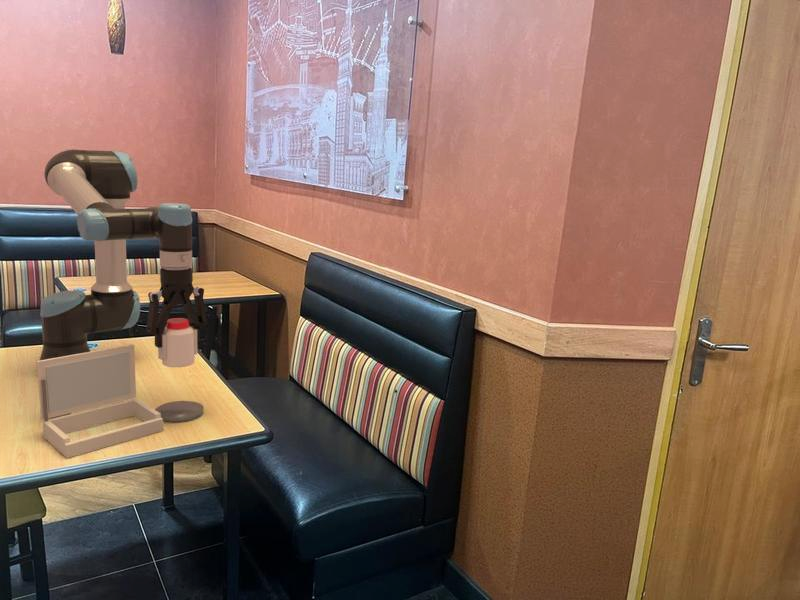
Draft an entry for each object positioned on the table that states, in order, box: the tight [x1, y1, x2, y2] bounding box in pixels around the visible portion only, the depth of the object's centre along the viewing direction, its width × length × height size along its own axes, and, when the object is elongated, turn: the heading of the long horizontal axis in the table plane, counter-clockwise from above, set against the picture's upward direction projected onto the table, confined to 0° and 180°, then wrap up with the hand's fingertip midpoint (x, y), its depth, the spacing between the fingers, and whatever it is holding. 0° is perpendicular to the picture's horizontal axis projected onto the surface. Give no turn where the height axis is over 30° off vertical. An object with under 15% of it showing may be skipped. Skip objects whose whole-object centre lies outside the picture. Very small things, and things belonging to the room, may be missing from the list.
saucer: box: [154, 400, 205, 424], centre depth 163 cm, size 12×12×1 cm
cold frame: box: [36, 343, 164, 459], centre depth 147 cm, size 15×22×18 cm
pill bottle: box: [161, 317, 196, 368], centre depth 159 cm, size 8×8×11 cm
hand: (178, 355), depth 159 cm, fingers closed on pill bottle, 8 cm apart
